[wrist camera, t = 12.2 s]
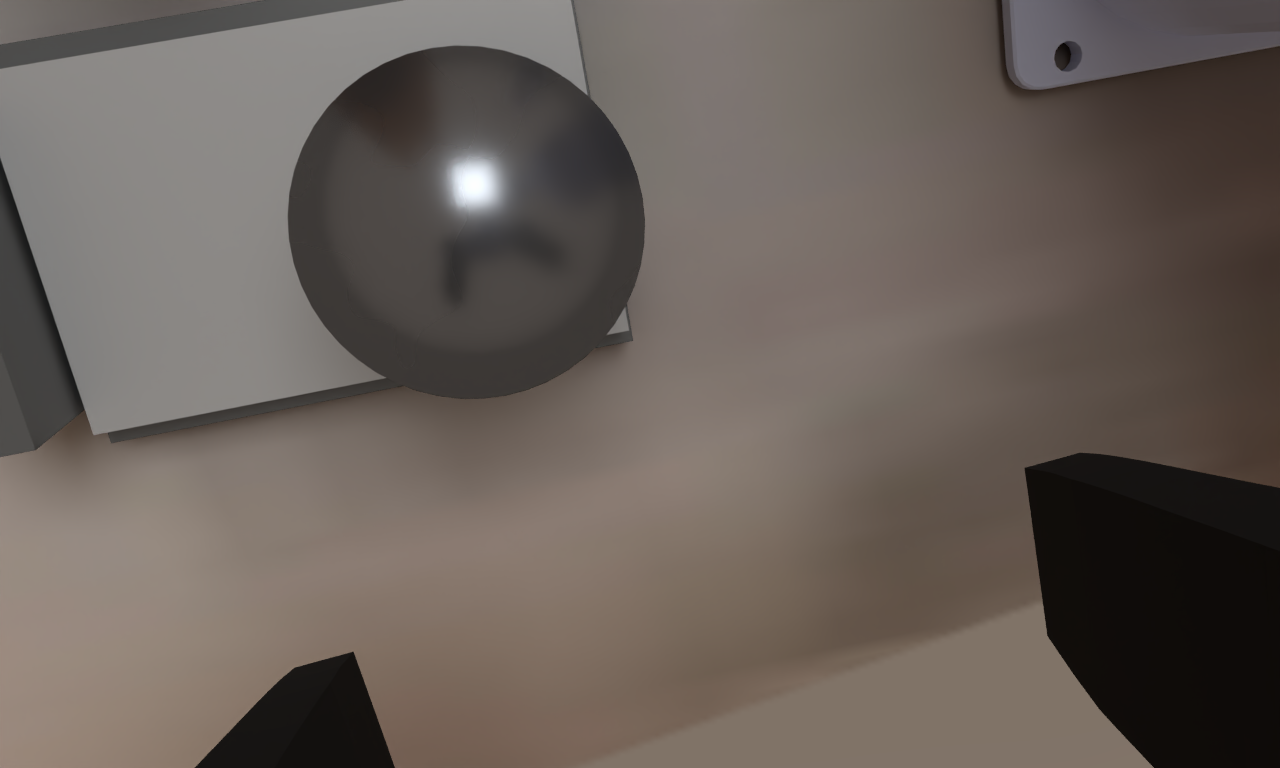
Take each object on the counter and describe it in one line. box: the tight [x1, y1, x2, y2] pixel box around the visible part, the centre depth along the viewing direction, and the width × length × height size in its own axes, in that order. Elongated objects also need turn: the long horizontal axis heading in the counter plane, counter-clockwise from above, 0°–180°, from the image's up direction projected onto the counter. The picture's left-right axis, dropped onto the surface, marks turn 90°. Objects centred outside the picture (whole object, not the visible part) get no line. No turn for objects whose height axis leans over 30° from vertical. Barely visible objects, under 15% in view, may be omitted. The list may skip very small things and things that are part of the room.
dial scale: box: [0, 0, 633, 457], centre depth 17 cm, size 11×7×4 cm, turn 100°
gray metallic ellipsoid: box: [288, 45, 645, 399], centre depth 15 cm, size 4×4×6 cm
